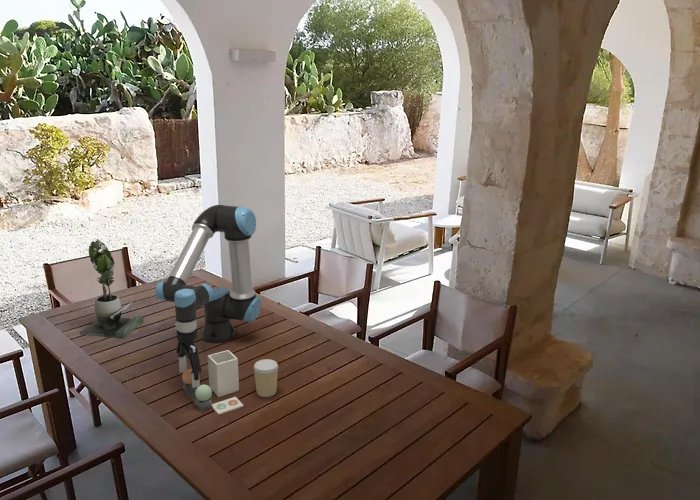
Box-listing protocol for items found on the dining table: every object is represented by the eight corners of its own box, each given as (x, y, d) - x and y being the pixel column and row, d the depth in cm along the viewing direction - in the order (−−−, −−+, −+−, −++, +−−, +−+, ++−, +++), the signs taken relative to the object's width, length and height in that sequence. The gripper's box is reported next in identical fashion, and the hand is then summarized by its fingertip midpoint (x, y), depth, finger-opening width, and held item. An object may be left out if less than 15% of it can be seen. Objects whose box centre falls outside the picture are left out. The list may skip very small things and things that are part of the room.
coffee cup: (282, 388, 228) (282, 361, 224) (271, 400, 220) (271, 372, 216) (261, 383, 231) (260, 357, 227) (250, 395, 222) (249, 367, 219)
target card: (235, 397, 220) (235, 396, 220) (243, 406, 215) (243, 404, 215) (211, 406, 215) (210, 404, 215) (218, 414, 209) (218, 413, 209)
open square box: (229, 380, 232) (228, 349, 228) (238, 390, 226) (237, 358, 221) (209, 387, 227) (207, 355, 223) (218, 397, 221) (216, 364, 216)
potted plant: (143, 321, 283) (135, 234, 270) (123, 338, 265) (114, 246, 252) (102, 318, 286) (92, 231, 273) (80, 334, 268) (68, 242, 255)
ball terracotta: (194, 377, 229) (193, 364, 227) (200, 384, 224) (199, 370, 222) (180, 382, 226) (179, 368, 224) (185, 389, 221) (184, 375, 219)
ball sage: (208, 393, 218) (207, 379, 216) (214, 401, 213) (214, 386, 212) (193, 398, 215) (192, 384, 213) (199, 406, 210) (198, 391, 208)
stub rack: (194, 384, 229) (193, 377, 228) (213, 406, 214) (212, 399, 213) (182, 388, 226) (181, 381, 225) (200, 411, 212) (200, 403, 211)
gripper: (166, 320, 225) (169, 368, 232) (189, 344, 206) (192, 396, 212) (184, 316, 230) (187, 363, 236) (208, 339, 210) (211, 390, 216)
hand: (189, 379), depth 224 cm, fingers open, 13 cm apart
